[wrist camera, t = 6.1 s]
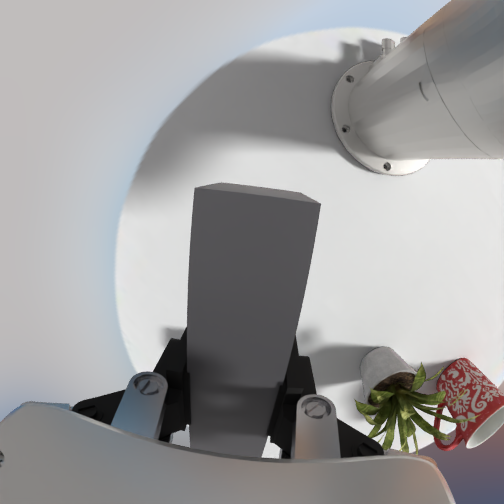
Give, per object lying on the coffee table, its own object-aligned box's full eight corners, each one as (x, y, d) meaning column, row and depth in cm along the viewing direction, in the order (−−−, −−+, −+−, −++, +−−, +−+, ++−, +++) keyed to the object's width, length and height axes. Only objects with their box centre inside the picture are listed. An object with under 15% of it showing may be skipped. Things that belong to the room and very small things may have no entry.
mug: (467, 342, 31) (514, 393, 18) (477, 368, 32) (514, 414, 19) (407, 395, 33) (438, 457, 20) (423, 414, 35) (450, 467, 22)
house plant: (431, 294, 29) (511, 368, 13) (428, 371, 32) (476, 447, 16) (326, 332, 30) (363, 445, 15) (341, 404, 34) (365, 498, 18)
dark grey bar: (221, 182, 10) (194, 187, 6) (300, 192, 10) (320, 203, 6) (205, 428, 14) (193, 479, 10) (254, 435, 14) (250, 488, 10)
